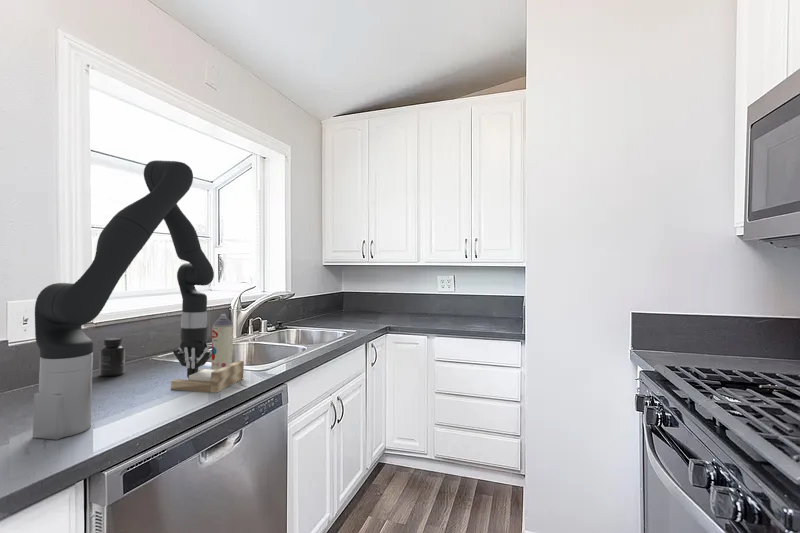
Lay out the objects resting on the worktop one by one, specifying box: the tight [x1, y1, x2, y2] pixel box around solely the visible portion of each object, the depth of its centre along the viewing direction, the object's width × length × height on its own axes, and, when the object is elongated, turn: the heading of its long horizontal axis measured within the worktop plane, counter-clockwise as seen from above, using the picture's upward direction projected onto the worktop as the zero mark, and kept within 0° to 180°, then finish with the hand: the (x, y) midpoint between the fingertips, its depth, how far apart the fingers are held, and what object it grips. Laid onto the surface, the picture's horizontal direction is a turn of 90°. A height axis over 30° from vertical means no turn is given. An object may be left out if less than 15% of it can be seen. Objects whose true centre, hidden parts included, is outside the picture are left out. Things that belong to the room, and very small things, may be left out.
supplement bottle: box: [98, 337, 126, 378], centre depth 135 cm, size 7×7×12 cm
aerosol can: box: [211, 313, 234, 370], centre depth 144 cm, size 7×7×20 cm
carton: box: [189, 368, 216, 382], centre depth 127 cm, size 8×7×4 cm
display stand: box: [170, 360, 245, 394], centre depth 128 cm, size 15×15×6 cm
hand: (192, 379), depth 129 cm, fingers closed
